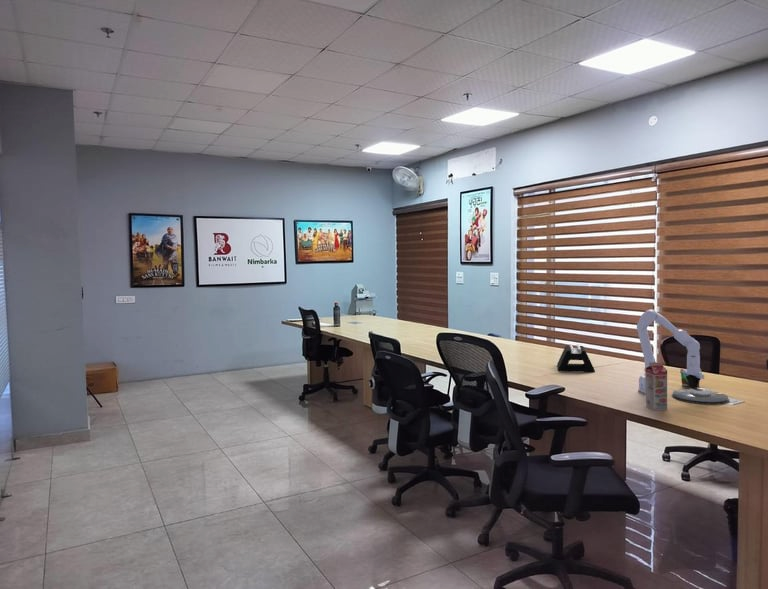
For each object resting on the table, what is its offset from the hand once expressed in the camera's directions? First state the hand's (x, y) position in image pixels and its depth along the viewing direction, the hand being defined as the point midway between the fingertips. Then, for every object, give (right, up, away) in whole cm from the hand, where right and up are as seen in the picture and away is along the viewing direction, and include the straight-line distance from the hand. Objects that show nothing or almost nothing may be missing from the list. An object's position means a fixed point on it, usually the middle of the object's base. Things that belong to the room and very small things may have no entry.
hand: (693, 389), depth 272 cm
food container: (+11, -2, +19) cm, 22 cm away
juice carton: (-30, -5, -21) cm, 37 cm away
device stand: (-32, -1, +80) cm, 86 cm away
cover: (0, -1, -5) cm, 6 cm away
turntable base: (0, -3, -5) cm, 6 cm away
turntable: (0, -3, -5) cm, 6 cm away
